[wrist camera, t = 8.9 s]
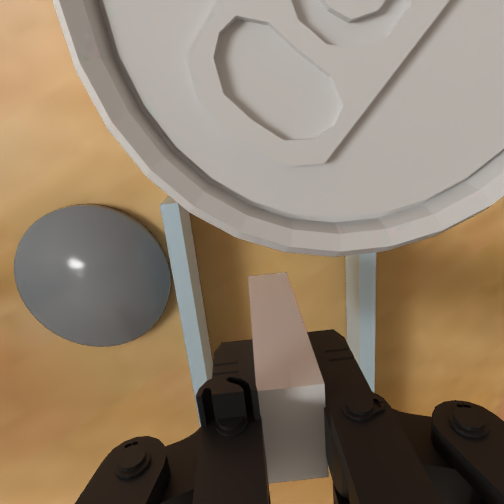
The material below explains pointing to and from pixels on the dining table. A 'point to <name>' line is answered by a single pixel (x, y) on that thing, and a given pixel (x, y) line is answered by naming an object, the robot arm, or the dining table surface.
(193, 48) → the beverage can
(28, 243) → the grey round disc
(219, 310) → the dining table surface
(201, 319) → the channel
